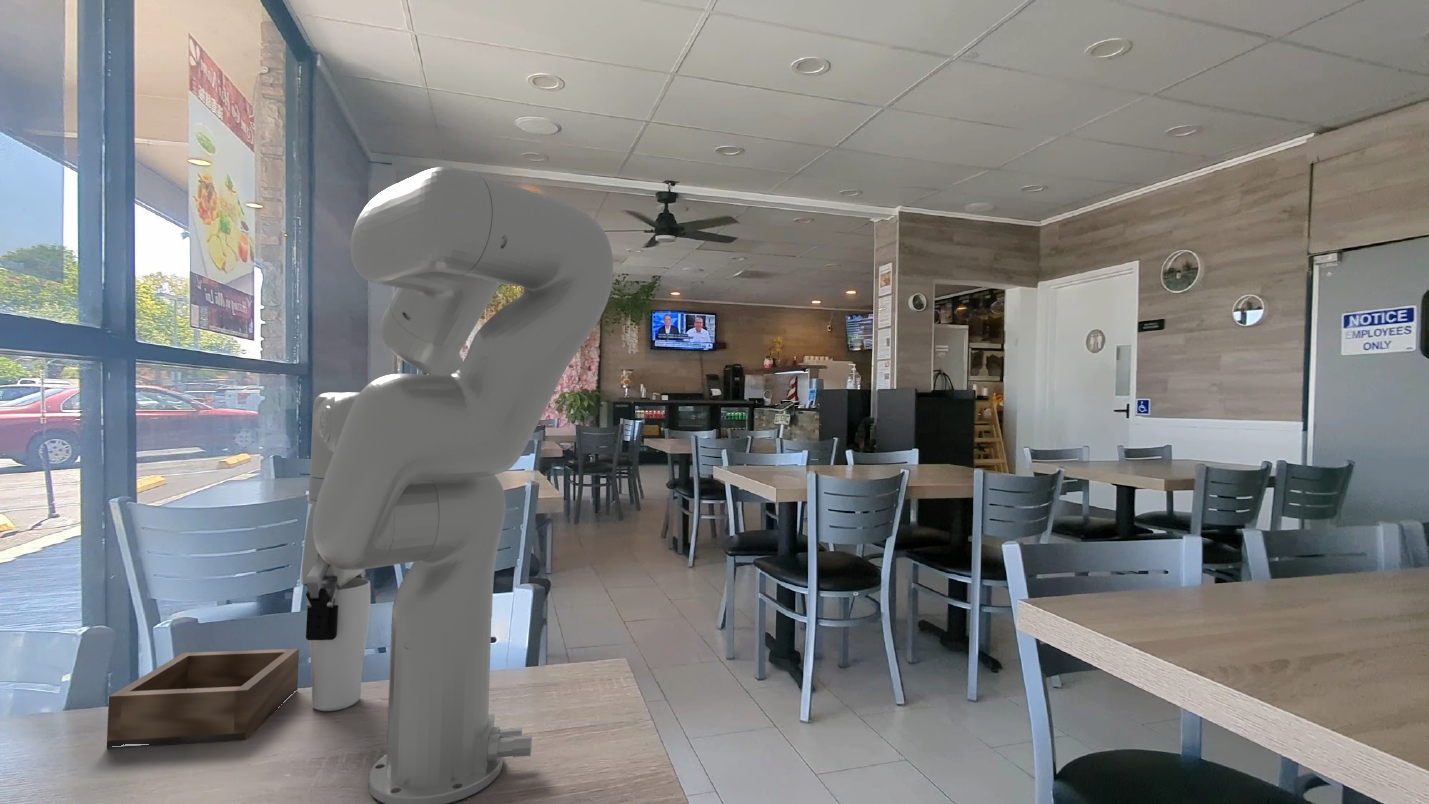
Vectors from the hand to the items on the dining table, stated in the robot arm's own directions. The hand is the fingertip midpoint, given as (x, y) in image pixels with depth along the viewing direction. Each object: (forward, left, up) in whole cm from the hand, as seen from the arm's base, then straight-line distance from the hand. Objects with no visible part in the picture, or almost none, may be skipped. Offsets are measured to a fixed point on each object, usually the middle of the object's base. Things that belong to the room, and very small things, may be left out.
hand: (336, 625), depth 85 cm
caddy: (+12, +3, -10) cm, 16 cm away
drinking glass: (-1, +1, -10) cm, 10 cm away
